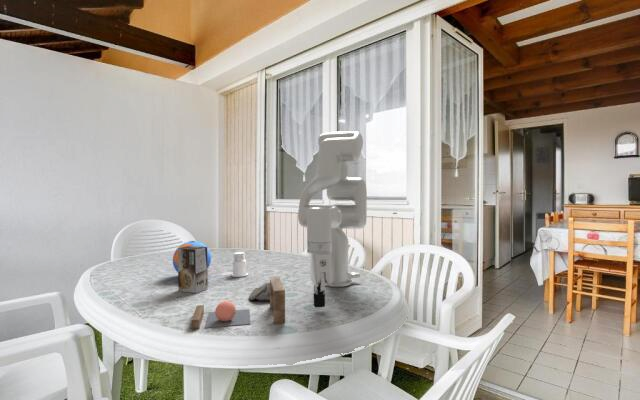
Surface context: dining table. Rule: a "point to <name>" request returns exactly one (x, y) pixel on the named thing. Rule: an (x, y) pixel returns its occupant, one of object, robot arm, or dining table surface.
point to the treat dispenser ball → (190, 243)
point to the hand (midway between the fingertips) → (319, 306)
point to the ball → (225, 311)
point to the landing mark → (239, 319)
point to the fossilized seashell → (261, 293)
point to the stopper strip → (197, 317)
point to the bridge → (277, 300)
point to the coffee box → (192, 269)
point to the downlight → (239, 265)
